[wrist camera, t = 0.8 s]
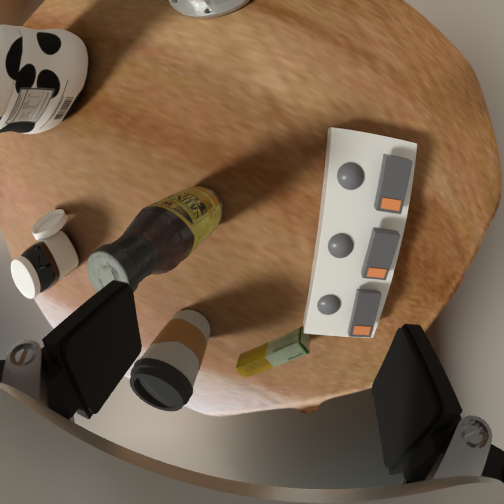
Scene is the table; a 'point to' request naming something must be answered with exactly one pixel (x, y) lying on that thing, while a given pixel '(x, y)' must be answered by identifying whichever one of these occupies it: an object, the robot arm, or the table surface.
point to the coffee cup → (172, 362)
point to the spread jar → (45, 256)
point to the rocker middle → (380, 253)
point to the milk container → (39, 77)
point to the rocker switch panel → (350, 227)
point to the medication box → (274, 353)
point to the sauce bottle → (157, 238)
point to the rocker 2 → (393, 184)
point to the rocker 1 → (364, 313)
